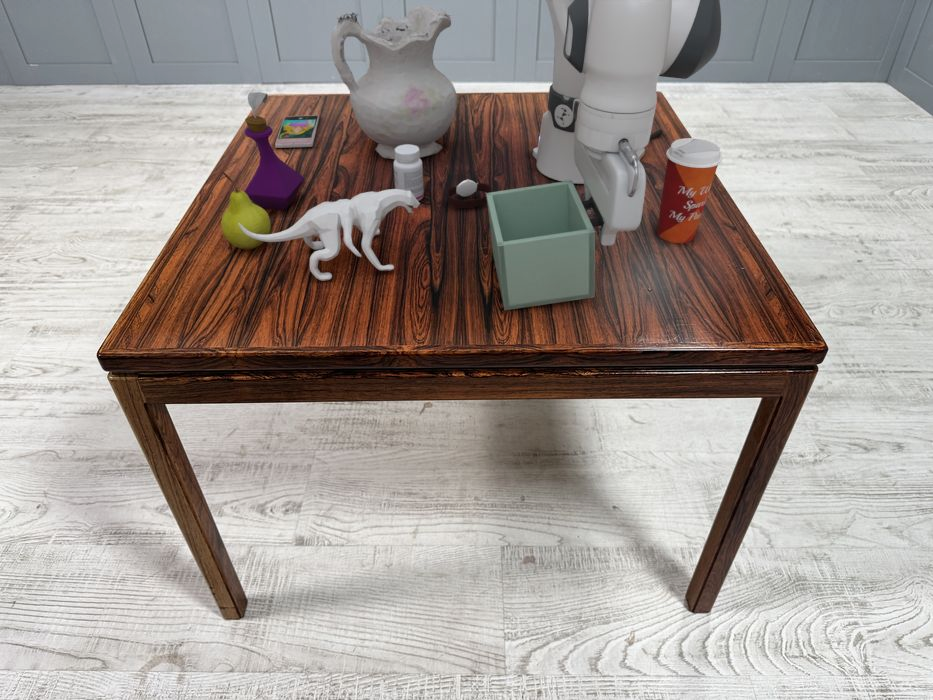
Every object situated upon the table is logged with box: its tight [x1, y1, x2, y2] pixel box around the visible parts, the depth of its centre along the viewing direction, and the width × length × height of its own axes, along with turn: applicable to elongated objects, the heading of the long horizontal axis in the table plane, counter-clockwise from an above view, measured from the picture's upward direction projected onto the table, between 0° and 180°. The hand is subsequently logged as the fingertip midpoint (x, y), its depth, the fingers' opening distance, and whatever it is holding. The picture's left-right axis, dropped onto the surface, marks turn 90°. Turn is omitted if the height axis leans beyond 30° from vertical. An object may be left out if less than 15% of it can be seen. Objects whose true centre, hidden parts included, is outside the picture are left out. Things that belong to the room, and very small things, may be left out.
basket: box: [485, 180, 604, 311], centre depth 88 cm, size 10×14×15 cm
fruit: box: [220, 170, 272, 251], centre depth 95 cm, size 7×7×12 cm
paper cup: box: [657, 137, 723, 244], centre depth 97 cm, size 8×8×14 cm
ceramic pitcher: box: [330, 5, 458, 160], centre depth 118 cm, size 22×20×25 cm
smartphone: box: [274, 114, 320, 149], centre depth 131 cm, size 7×1×15 cm
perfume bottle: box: [243, 91, 305, 211], centre depth 103 cm, size 8×8×18 cm
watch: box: [446, 178, 493, 209], centre depth 108 cm, size 8×5×4 cm, turn 107°
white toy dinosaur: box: [238, 188, 421, 282], centre depth 92 cm, size 12×25×10 cm, turn 107°
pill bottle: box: [393, 144, 425, 202], centre depth 108 cm, size 5×5×8 cm
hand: (598, 226), depth 87 cm, fingers closed on basket, 7 cm apart
